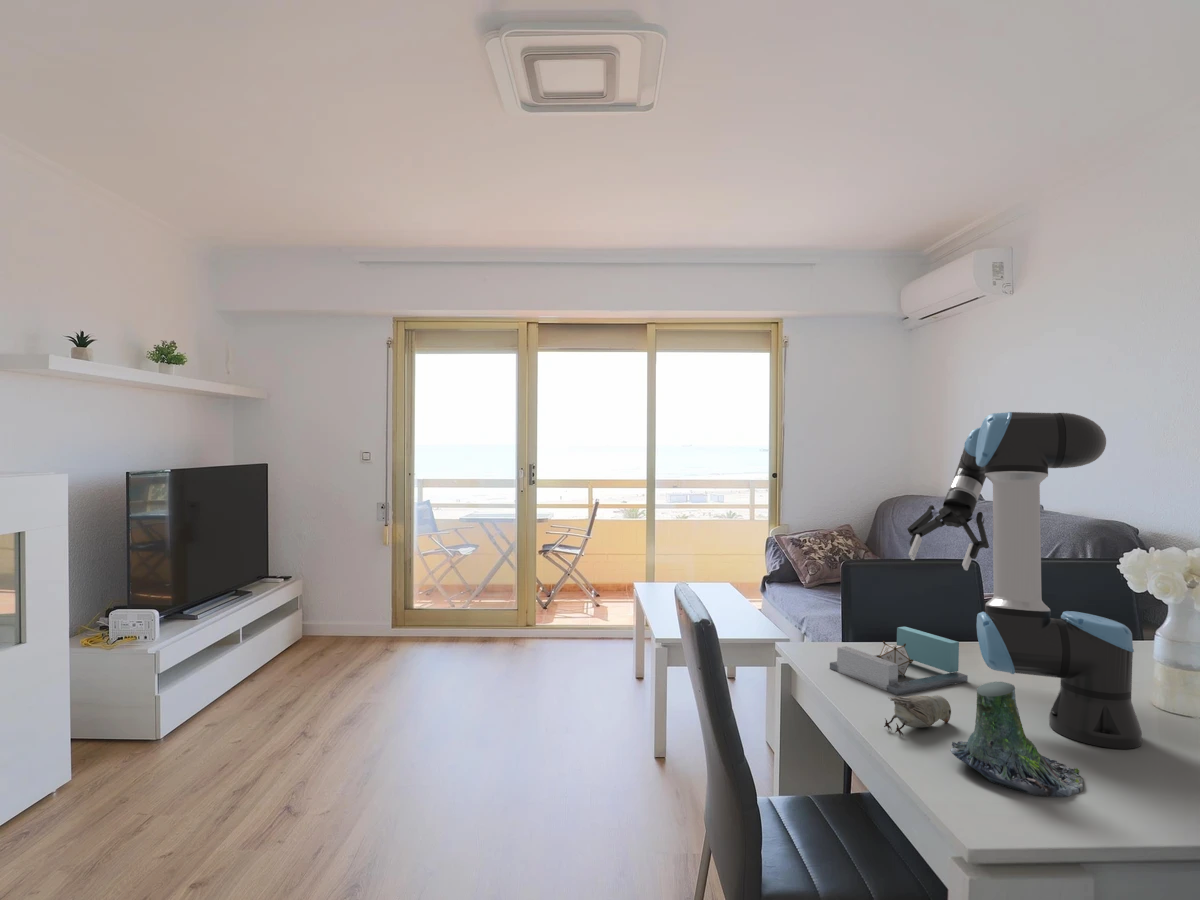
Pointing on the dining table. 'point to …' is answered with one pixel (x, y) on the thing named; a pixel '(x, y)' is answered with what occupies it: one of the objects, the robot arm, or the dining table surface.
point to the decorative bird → (920, 711)
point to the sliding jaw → (929, 648)
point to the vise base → (886, 672)
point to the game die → (896, 656)
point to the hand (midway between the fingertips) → (937, 562)
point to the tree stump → (1011, 748)
